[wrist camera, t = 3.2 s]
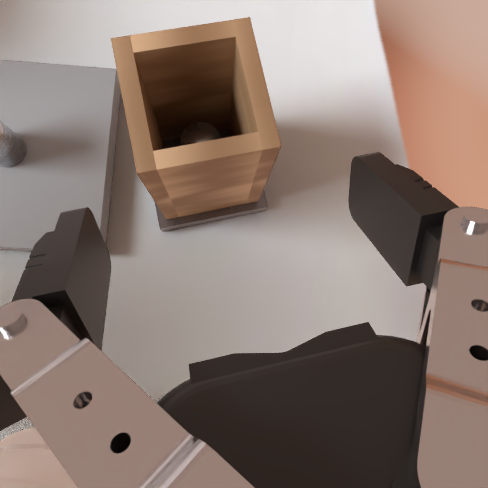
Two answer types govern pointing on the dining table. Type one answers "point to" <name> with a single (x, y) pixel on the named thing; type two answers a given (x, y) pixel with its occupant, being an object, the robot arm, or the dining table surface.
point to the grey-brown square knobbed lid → (201, 134)
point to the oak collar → (198, 114)
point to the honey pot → (30, 463)
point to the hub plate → (54, 146)
